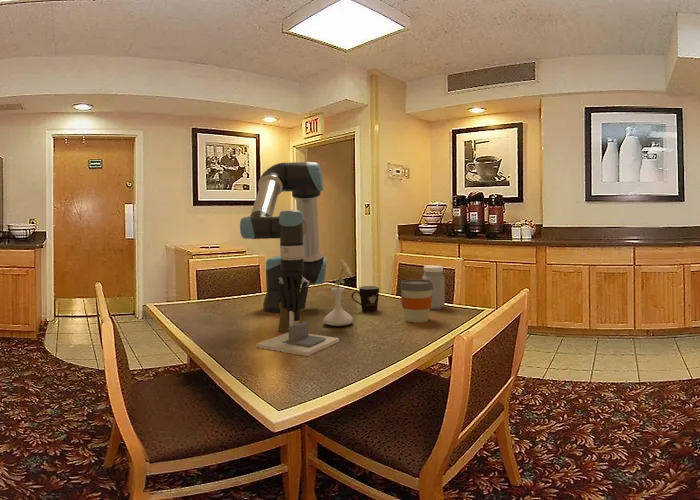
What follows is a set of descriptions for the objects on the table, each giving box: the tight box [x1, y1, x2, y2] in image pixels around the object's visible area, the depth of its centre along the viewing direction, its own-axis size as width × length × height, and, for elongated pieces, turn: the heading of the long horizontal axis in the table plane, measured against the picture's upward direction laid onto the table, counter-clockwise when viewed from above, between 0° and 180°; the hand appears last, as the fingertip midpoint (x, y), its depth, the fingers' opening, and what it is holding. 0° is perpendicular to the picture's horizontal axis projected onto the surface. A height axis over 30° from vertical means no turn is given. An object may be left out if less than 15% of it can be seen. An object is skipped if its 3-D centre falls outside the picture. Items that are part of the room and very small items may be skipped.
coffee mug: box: [351, 285, 380, 313], centre depth 214 cm, size 12×9×10 cm
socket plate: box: [255, 332, 340, 357], centre depth 164 cm, size 20×18×1 cm
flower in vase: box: [323, 258, 354, 327], centre depth 190 cm, size 13×11×25 cm
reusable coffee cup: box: [400, 278, 433, 323], centre depth 195 cm, size 13×13×15 cm
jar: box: [421, 264, 446, 310], centre depth 218 cm, size 10×10×18 cm
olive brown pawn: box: [278, 302, 290, 334], centre depth 182 cm, size 6×6×11 cm
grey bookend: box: [287, 321, 326, 347], centre depth 162 cm, size 9×9×5 cm
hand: (294, 330), depth 164 cm, fingers closed
